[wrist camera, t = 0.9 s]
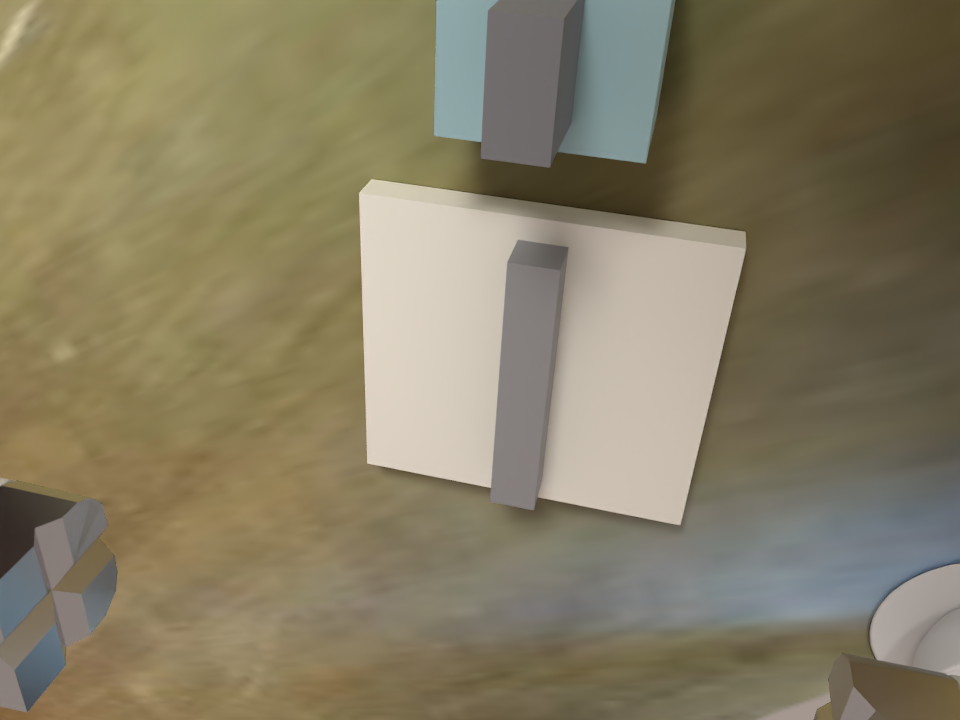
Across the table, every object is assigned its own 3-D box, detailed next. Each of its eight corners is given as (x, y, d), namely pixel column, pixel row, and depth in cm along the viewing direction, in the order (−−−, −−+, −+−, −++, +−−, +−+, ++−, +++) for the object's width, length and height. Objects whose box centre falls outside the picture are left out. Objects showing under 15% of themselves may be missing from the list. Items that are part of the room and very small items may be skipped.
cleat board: (371, 179, 36) (340, 213, 33) (745, 231, 34) (746, 273, 31) (377, 444, 44) (353, 490, 41) (681, 503, 41) (678, 556, 39)
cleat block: (477, -84, 30) (395, -41, 23) (686, -66, 29) (670, -15, 22) (470, 92, 33) (396, 179, 26) (656, 115, 32) (633, 213, 25)
